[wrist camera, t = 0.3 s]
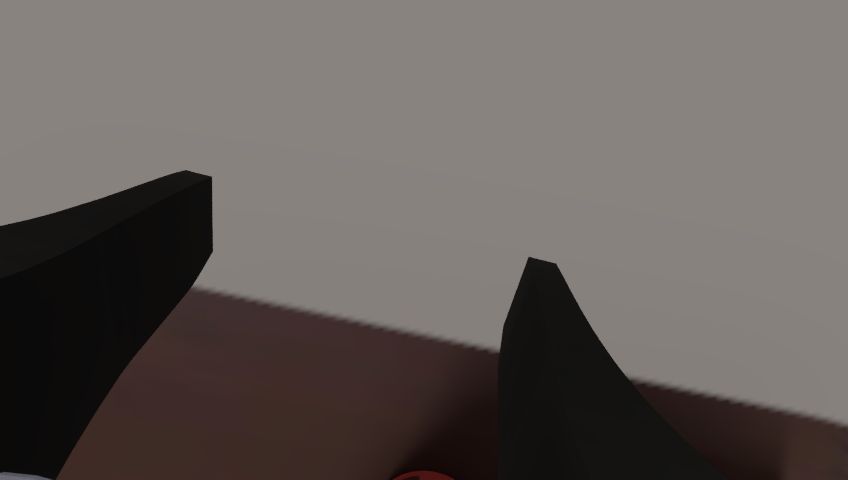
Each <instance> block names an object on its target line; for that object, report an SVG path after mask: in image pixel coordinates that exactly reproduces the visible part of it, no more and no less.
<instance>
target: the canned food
mask: <svg viewBox="0 0 848 480" xmlns="http://www.w3.org/2000/svg"><path fill="white" fill-rule="evenodd" d="M393 480H454V479H453V478H451V477H449V476H447V475H444V474H441V473H438V472H433V471H424V470H423V471H413V472H409V473H406V474H402V475H400V476H398V477H396V478H394V479H393Z"/></svg>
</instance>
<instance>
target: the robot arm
mask: <svg viewBox="0 0 848 480" xmlns="http://www.w3.org/2000/svg"><path fill="white" fill-rule="evenodd" d="M212 233H213V231H212V177H211V176H207V175H202V174H199V173H194V172H191V171H187V170H185V171H181V172H177V173H173V174H170V175H167V176H164V177H161V178H158V179H155V180H153V181H149V182H147V183H144V184H141V185H138V186H135V187H133V188H130V189H127V190H124V191H121V192H118V193H115V194H113V195H109V196H107V197H104V198H101V199H98V200H94V201H91V202H88V203H85V204H82V205H79V206H75V207H72V208H69V209H66V210H62V211H59V212H56V213H52V214H49V215H45V216H41V217H37V218H33V219H30V220H25V221H21V222H17V223H12V224H8V225H3V226H0V480H56V478H57V476H58V474H59V473H60V471H61V469H62V467H63V466H64V464H65V462H66V460H67V459H68V457H69V455H70V453H71V452H72V450H73V448H74V447H75V445H76V443H77V442H78V440H79V439H80V437H81V435H82V434H83V432H84V430H85V429H86V427H87V426H88V424H89V422H90V421H91V419H92V418H93V416H94V414H95V413H96V411H97V409H98V408H99V406H100V405H101V403H102V402H103V400H104V399H105V397H106V396H107V394H108V393H109V391H110V390H111V388H112V387H113V385H114V384H115V382H116V381H117V379H118V377H119V376H120V374H121V373H122V372H123V370H124V369H125V368H126V366H127V365H128V364H129V362H130V361H131V360H132V359H133V357H134V356H135V355H136V354H137V352H138V351H139V350H140V349H141V348H142V346H143V345H144V344H145V343H146V342H147V340H148V339H149V338H150V337H151V336H152V334H153V333H154V332H155V331H156V330H157V328H158V327H159V326H160V325H161V323H162V322H163V321H164V320H165V319H166V317H167V316H168V315H169V314H170V313H171V311H172V310H173V309H174V308H175V307H176V305H177V304H178V303H179V302H180V300H181V299H182V298H183V297H184V295H185V294H186V293H187V292H188V290H189V289H190V288H191V287H192V285H193V284H194V282H195V280H196V279H197V277H198V276H199V274H200V272H201V271H202V269H203V267H204V266H205V264H206V262H207V260H208V259H209V257H210V255H211V254H212V252H213V234H212ZM497 480H730V479H729V478H727V477H726V476H725V475H724V474H723V473H721V472H720V471H719V470H718V469H717V468H716V467H714V466H713V465H712V464H711V463H710V462H709V461H708V460H706V459H705V458H704V457H703V456H702V455H701V454H700V453H698V452H697V451H696V450H695V449H694V448H693V447H692V446H691V445H690V444H689V443H687V442H686V441H685V440H684V439H683V438H682V437H681V436H680V435H679V434H678V433H677V432H676V431H675V430H674V429H673V428H672V427H671V426H670V425H669V424H668V423H667V422H666V421H665V420H664V419H663V418H662V417H661V416H660V415H659V414H658V413H657V412H656V411H655V410H654V409H653V407H652V406H651V405H650V404H649V403H648V402H647V401H646V400H645V399H644V397H643V396H642V395H641V394H640V393H639V392H638V390H637V389H636V388H635V387H634V386H633V384H632V383H631V382H630V381H629V379H628V378H627V377H626V376H625V375H624V373H623V372H622V371H621V369H620V368H619V367H618V366H617V364H616V363H615V362H614V360H613V359H612V357H611V356H610V354H609V353H608V352H607V350H606V349H605V347H604V346H603V344H602V343H601V341H600V340H599V338H598V337H597V335H596V334H595V332H594V331H593V329H592V328H591V326H590V324H589V322H588V321H587V319H586V317H585V316H584V314H583V312H582V311H581V309H580V307H579V305H578V303H577V302H576V300H575V298H574V296H573V294H572V292H571V291H570V289H569V287H568V285H567V283H566V281H565V279H564V277H563V275H562V274H561V272H560V270H559V268H558V266H557V264H555V263H551V262H547V261H543V260H539V259H535V258H531V257H529V258H528V260H527V263H526V266H525V269H524V271H523V274H522V277H521V279H520V282H519V285H518V288H517V290H516V293H515V296H514V299H513V301H512V304H511V307H510V310H509V312H508V316H507V318H506V321H505V323H504V326H503V334H502V341H501V348H500V356H499V364H498V468H497Z"/></svg>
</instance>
